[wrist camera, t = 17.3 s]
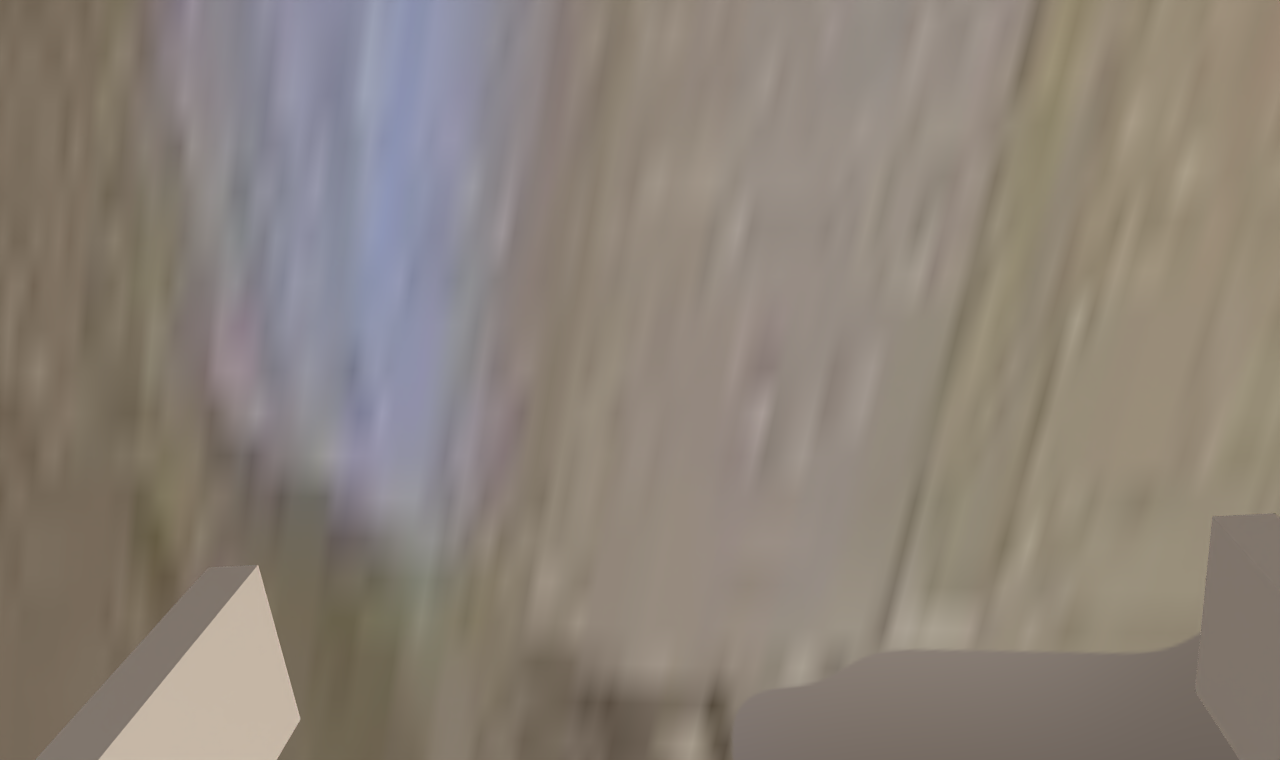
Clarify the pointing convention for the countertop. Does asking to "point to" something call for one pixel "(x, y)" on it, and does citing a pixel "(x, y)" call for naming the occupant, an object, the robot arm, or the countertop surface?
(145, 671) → the robot arm
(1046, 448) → the countertop surface
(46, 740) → the countertop surface
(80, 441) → the countertop surface
